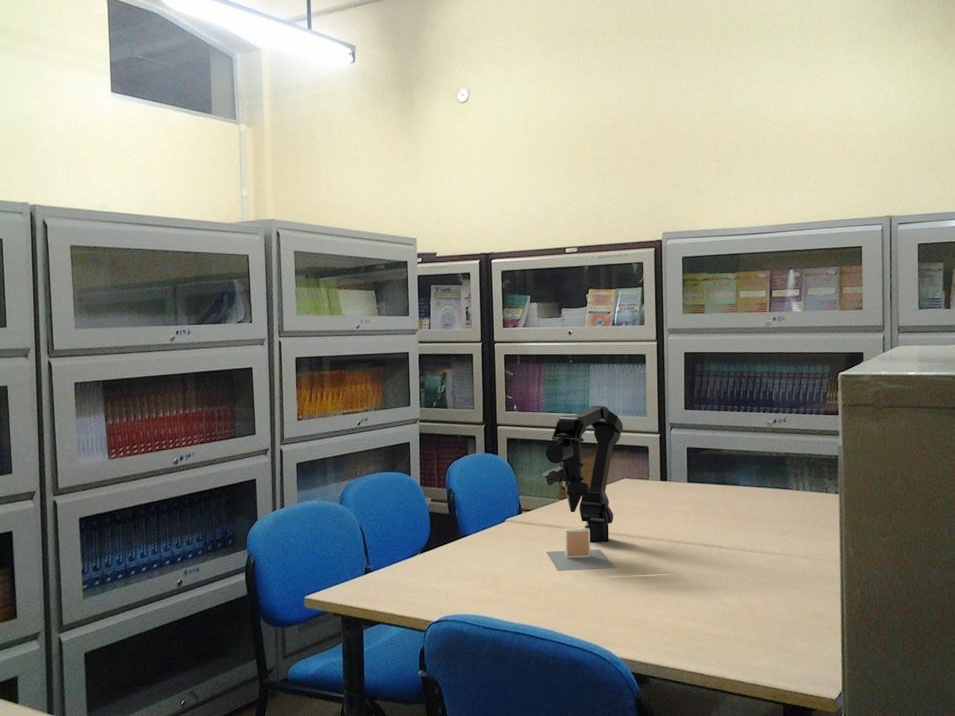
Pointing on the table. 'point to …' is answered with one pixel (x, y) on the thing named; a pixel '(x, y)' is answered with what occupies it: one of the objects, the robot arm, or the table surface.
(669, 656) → the table surface
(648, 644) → the table surface
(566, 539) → the tile
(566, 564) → the mat
